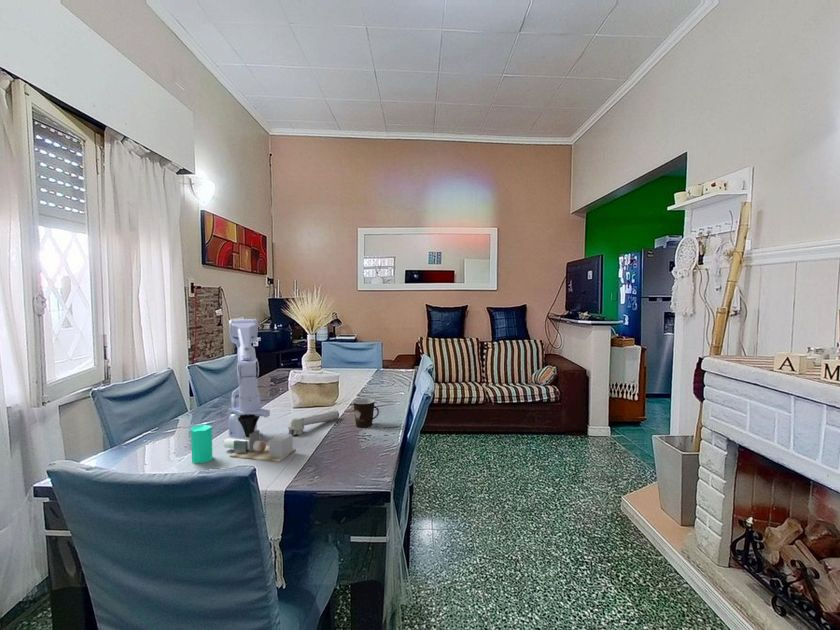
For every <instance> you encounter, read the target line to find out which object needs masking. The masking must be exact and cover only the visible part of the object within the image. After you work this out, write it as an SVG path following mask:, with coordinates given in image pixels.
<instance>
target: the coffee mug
mask: <svg viewBox="0 0 840 630" xmlns="http://www.w3.org/2000/svg"><path fill="white" fill-rule="evenodd" d="M352 403H353V411H354V418H355V420H354V421H355V426H356V428H359V429H368V428H371V427H373V421H374V419H376V418H377V417H378V416H379V414H380V410H379V408H378V406H375V403H376V402H375V399H373V398H366V397H365V398H357V399H355V400H353V401H352ZM375 410H376V411H377V414H376V415H375V416H374V411H375Z"/></svg>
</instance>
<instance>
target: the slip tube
mask: <svg viewBox="0 0 840 630" xmlns="http://www.w3.org/2000/svg"><path fill="white" fill-rule="evenodd" d="M260 432H261V431H260V429H257V430H256V431H254V432H252V433H250V434H249V440H244V439H234V438H227V437H226V438H225V439H224V441H223V447H224V448H226V449H233V450H234V441H235V440H238V441H247V443H248V450H250V452H254V451H261V452H263V451H264V450H265V448H266V446H267V442H266V441H264V440H260V439H261V437H260V436H261V434H260Z"/></svg>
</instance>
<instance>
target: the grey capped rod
mask: <svg viewBox="0 0 840 630" xmlns="http://www.w3.org/2000/svg"><path fill="white" fill-rule="evenodd" d="M339 418H340V413H339V411H338V410H336V409H335V410H327V411H325V412H321V413H316V414H312V415H308V416H304V417H293V418H292V419H291V421H290V425H289V426H287V430H288V434H290V435H292V436H295V435H297V436H301V435H302V434H303V433H304V429H305V426H309V425H314V424H320V423H325V422H333V421H336V420H338V419H339ZM300 434H301V435H300Z"/></svg>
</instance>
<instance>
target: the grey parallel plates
mask: <svg viewBox="0 0 840 630" xmlns="http://www.w3.org/2000/svg"><path fill="white" fill-rule="evenodd" d="M243 439H244V440H249V438H247V437H246V436H243ZM233 453H240V454H247V453H248V443H247V441H238V440H235V441H234V449H233Z"/></svg>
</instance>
